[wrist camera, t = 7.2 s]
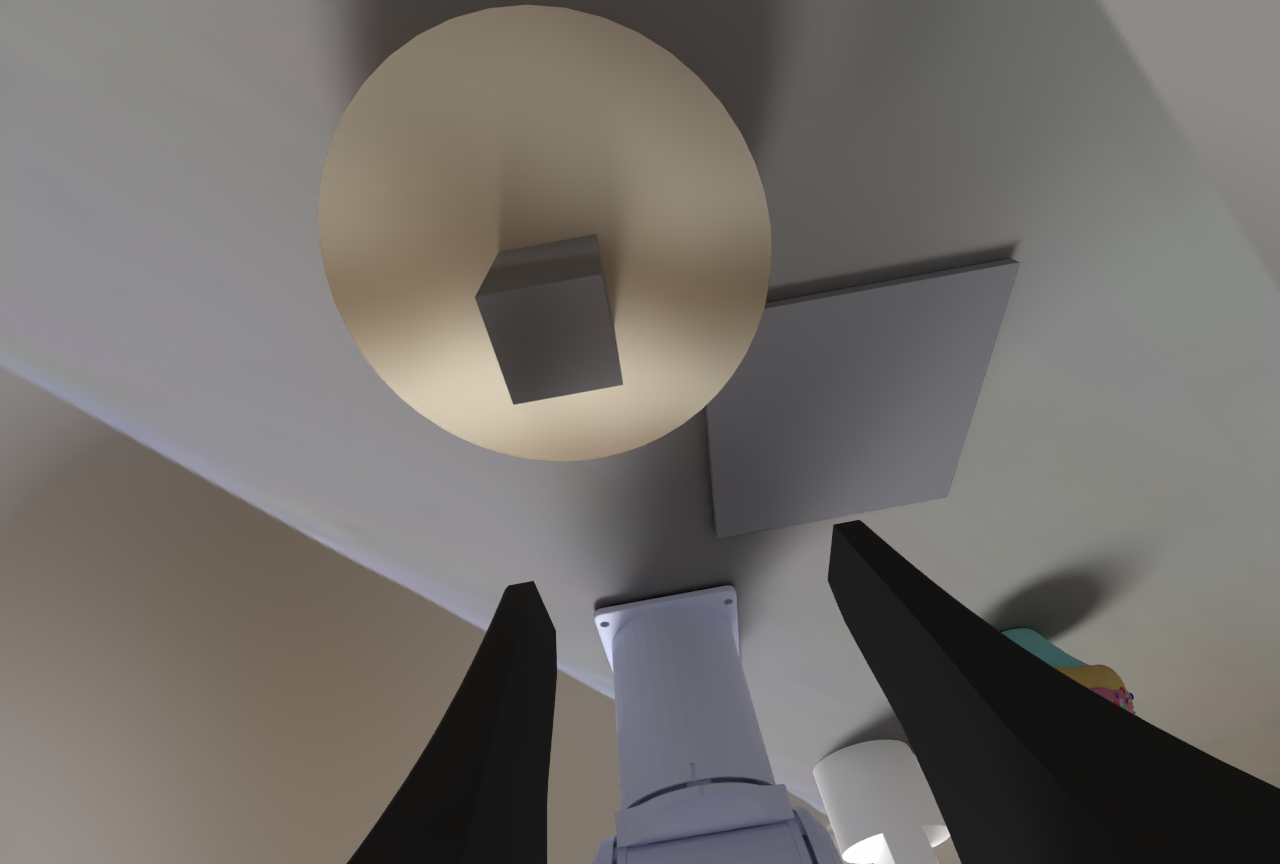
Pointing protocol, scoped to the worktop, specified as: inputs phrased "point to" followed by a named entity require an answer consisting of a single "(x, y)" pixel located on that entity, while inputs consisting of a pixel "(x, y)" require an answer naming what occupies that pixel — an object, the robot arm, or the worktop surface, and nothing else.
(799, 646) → the worktop surface
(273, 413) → the worktop surface
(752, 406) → the mat
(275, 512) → the worktop surface
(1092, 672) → the cupcake
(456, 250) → the lid
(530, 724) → the robot arm
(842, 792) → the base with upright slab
